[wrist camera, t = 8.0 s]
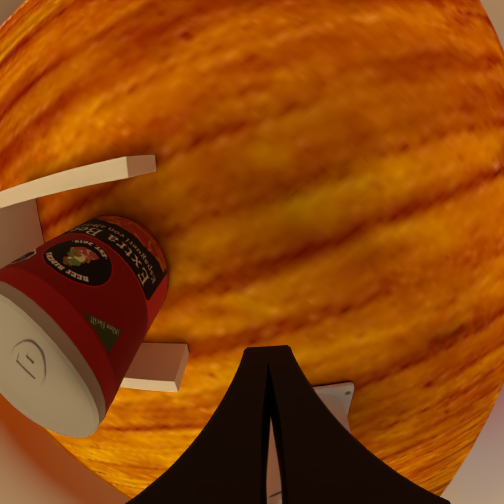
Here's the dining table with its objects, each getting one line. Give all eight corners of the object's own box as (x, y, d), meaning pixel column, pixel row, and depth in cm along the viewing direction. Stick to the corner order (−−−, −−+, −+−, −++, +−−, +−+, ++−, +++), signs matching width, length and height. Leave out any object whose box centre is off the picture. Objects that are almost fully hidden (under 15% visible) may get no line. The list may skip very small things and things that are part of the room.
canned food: (191, 247, 17) (117, 374, 7) (148, 336, 19) (90, 458, 9) (91, 190, 16) (-45, 245, 6) (65, 286, 18) (-26, 373, 8)
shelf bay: (189, 353, 20) (171, 415, 14) (71, 346, 20) (38, 389, 15) (154, 154, 15) (104, 158, 10) (25, 185, 16) (-32, 203, 10)
